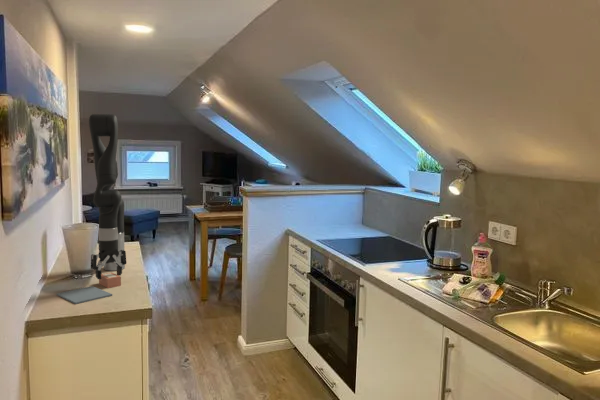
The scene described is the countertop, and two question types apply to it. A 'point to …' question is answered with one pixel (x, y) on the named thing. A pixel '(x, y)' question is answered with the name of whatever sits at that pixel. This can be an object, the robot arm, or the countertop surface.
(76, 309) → the countertop surface
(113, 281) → the card box
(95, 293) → the mat
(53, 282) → the countertop surface
